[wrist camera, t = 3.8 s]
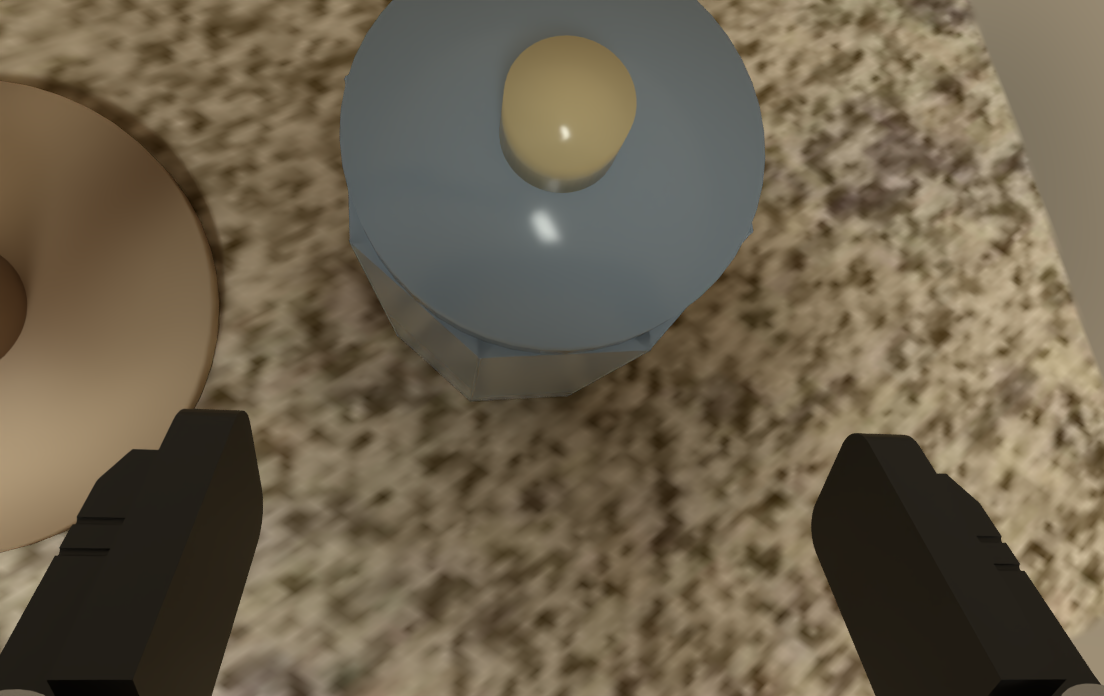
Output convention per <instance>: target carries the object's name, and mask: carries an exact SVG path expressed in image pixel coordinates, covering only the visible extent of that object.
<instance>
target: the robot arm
mask: <svg viewBox="0 0 1104 696" xmlns="http://www.w3.org/2000/svg"><path fill="white" fill-rule="evenodd" d="M262 514H263V494H262V487H261V482H260V476H259V470H258V465H257V459H256V453H255V447H254V442H253V436H252V430H251V425H250V420H249V417H248V415H247V413H246V412H245V411H239V410H209V409H181V410H180V411H179V412H178V413H177V414H176V416H175V417H174V419H173V421H172V423H171V425H170V427H169V429H168V431H167V433H166V436H165V438H164V440H163V442H162V444H161V446H160V448H159V450H148V449H132V450H131V451H130V452H128V453H127V454H126V455H125V456H124V457H123V458H122V459H120V460H119V461H118V462H117V463H116V464H115V465H114V466H112V467H111V468H110V469H109V470H108V471H107V472H106V473H104V474H103V475H102V476H101V477H100V478H99V479H98V480H97V481H96V483H95V484H94V486H93V488H92V490H91V492H90V493H89V495H88V497H87V499H86V501H85V502H84V504H83V506H82V508H81V510H80V512H79V513H78V515H77V522H76V524H72V526H71V528H70V530H69V531H68V533H67V535H66V537H65V539H64V540H63V542H62V544H61V546H60V552H59V555H58V556H55V557H54V558H53V560H52V562H51V564H50V566H49V567H48V569H47V571H46V573H45V575H44V577H43V578H42V580H41V582H40V584H39V586H38V587H37V589H36V591H35V593H34V595H33V596H32V598H31V600H30V602H29V604H28V605H27V607H26V609H25V611H24V613H23V614H22V616H21V618H20V620H19V622H18V623H17V625H16V627H15V629H14V631H13V633H12V634H11V636H10V638H9V640H8V642H7V643H6V645H5V647H4V649H3V651H2V652H1V654H0V696H212V693H213V689H214V686H215V683H216V679H217V676H218V673H219V669H220V666H221V663H222V659H223V656H224V653H225V649H226V646H227V643H228V639H229V636H230V633H231V629H232V626H233V623H234V620H235V616H236V613H237V610H238V606H239V603H240V600H241V596H242V593H243V590H244V586H245V583H246V580H247V576H248V573H249V570H250V566H251V563H252V560H253V556H254V553H255V550H256V546H257V543H258V539H259V535H260V530H261V524H262ZM811 531H812V539H813V544H814V548H815V551H816V554H817V556H818V559H819V561H820V563H821V566H822V568H823V571H824V573H825V575H826V578H827V580H828V583H829V585H830V587H831V590H832V592H833V595H834V597H835V599H836V602H837V604H838V607H839V609H840V611H841V614H842V616H843V619H844V621H845V624H846V626H847V628H848V631H849V633H850V636H851V638H852V640H853V643H854V645H855V648H856V650H857V652H858V655H859V657H860V660H861V662H862V664H863V667H864V669H865V672H866V674H867V676H868V679H869V681H870V684H871V686H872V689H873V691H874V693H875V696H1104V686H1103V685H1101V684H1100V682H1099V681H1098V680H1097V678H1096V677H1095V676H1094V674H1093V673H1092V671H1091V670H1090V668H1089V667H1088V666H1087V664H1086V662H1085V661H1084V659H1083V658H1082V656H1081V655H1080V653H1079V652H1078V651H1077V649H1076V647H1075V646H1074V645H1073V643H1072V641H1071V640H1070V638H1069V637H1068V635H1067V634H1066V632H1065V631H1064V629H1063V628H1062V626H1061V625H1060V623H1059V622H1058V620H1057V619H1056V617H1055V616H1054V614H1053V613H1052V611H1051V610H1050V608H1049V607H1048V605H1047V604H1046V602H1045V601H1044V599H1043V598H1042V596H1041V595H1040V593H1039V592H1038V590H1037V589H1036V587H1035V586H1034V584H1033V583H1032V581H1031V580H1030V578H1029V577H1028V575H1027V574H1026V572H1025V571H1021V570H1020V568H1019V565H1020V563H1019V562H1018V560H1017V559H1016V557H1015V556H1014V554H1013V553H1012V551H1011V550H1010V548H1009V547H1008V545H1007V544H1006V543H1002V542H1001V535H1000V533H999V532H998V530H997V529H996V527H995V526H994V524H993V523H992V521H991V520H990V518H989V517H988V515H987V514H986V512H985V511H984V509H983V508H982V506H981V505H980V503H979V502H978V501H976V500H975V499H974V498H973V497H972V496H971V495H970V494H969V493H967V492H966V491H965V490H964V489H963V488H962V487H961V486H959V485H958V484H957V483H956V482H955V481H954V480H953V479H951V478H950V477H949V476H948V475H947V474H937V473H936V472H935V470H934V469H933V467H932V465H931V464H930V462H929V461H928V459H927V457H926V456H925V454H924V453H923V451H922V450H921V448H920V446H919V445H918V444H917V442H916V441H915V440H914V439H913V438H911V437H910V436H907V435H891V434H862V433H854V434H851V435H849V436H848V437H847V438H846V439H845V441H844V442H843V444H842V446H841V449H840V451H839V453H838V455H837V457H836V460H835V462H834V464H833V466H832V468H831V471H830V473H829V475H828V477H827V479H826V482H825V484H824V486H823V488H822V490H821V493H820V495H819V497H818V499H817V501H816V504H815V506H814V509H813V513H812V522H811Z"/></svg>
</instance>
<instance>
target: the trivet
mask: <svg viewBox="0 0 1104 696" xmlns="http://www.w3.org/2000/svg"><path fill="white" fill-rule="evenodd" d="M0 255H1V256H2V257H3V258H5V259H6V260H7V261H8V262H9V263H10V264H11V265H12V266H13V267H14V269H15V270H16V271H17V273H18V274H19V276H20V278H21V280H22V282H23V285H24V288H25V292H26V297H27V314H26V319H25V323H24V326H23V329H22V331H21V334H20V336H19V337H18V339H17V341H16V342H15V344H14V345H13V347H12V348H11V349H10V350H9V351H8V352H7V353H6V355H5V356H4V357H2V358H1V359H0V553H1V552H5V551H8V550H12V549H16V548H20V547H24V546H28V545H32V544H34V543H37V542H39V541H42V540H44V539H47V538H50V537H52V536H55V535H57V534H60V533H62V532H65V531H67V530H69V529H70V528H71V526H72V524H76V522H77V515H78V513H79V512H80V510H81V508H82V506H83V504H84V502H85V501H86V499H87V497H88V495H89V493H90V492H91V490H92V488H93V486H94V484H95V483H96V481H97V480H98V479H99V478H100V477H101V476H102V475H103V474H104V473H106V472H107V471H108V470H109V469H110V468H111V467H112V466H114V465H115V464H116V463H117V462H118V461H119V460H120V459H122V458H123V457H124V456H125V455H126V454H127V453H128V452H130V451H131V450H132V449H148V450H159V448H160V446H161V444H162V442H163V440H164V438H165V436H166V433H167V431H168V429H169V427H170V425H171V423H172V421H173V419H174V417H175V416H176V414H177V413H178V412H179V411H180V410H181V409H194V408H195V406H196V404H197V402H198V400H199V398H200V396H201V394H202V391H203V388H204V385H205V383H206V380H207V377H208V374H209V371H210V368H211V365H212V361H213V356H214V351H215V346H216V341H217V336H218V321H219V294H218V281H217V274H216V270H215V265H214V261H213V256H212V251H211V248H210V245H209V243H208V240H207V237H206V235H205V232H204V229H203V227H202V224H201V222H200V220H199V218H198V216H197V214H196V213H195V211H194V209H193V207H192V205H191V203H190V202H189V200H188V198H187V196H186V195H185V194H184V192H183V191H182V190H181V188H180V187H179V186H178V184H177V183H176V182H175V180H174V179H173V178H172V176H171V175H170V174H169V173H168V172H167V171H166V170H165V169H164V168H163V167H162V166H161V165H160V163H159V162H158V161H157V160H156V159H155V158H154V157H153V156H152V155H151V154H150V153H149V152H148V151H147V150H146V149H145V148H144V147H143V146H142V145H141V144H140V143H139V142H137V141H136V140H135V139H134V138H132V137H131V136H130V135H128V134H127V133H126V132H125V131H123V130H122V129H121V128H120V127H118V126H117V125H116V124H114V123H113V122H111V121H110V120H108V119H106V118H105V117H103V116H101V115H100V114H98V113H96V112H94V111H93V110H91V109H89V108H88V107H86V106H83V105H81V104H79V103H76V102H74V101H72V100H70V99H67V98H65V97H63V96H60V95H58V94H55V93H51V92H48V91H45V90H41V89H38V88H35V87H31V86H28V85H22V84H17V83H11V82H5V81H0Z"/></svg>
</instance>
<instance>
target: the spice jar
mask: <svg viewBox="0 0 1104 696" xmlns="http://www.w3.org/2000/svg"><path fill="white" fill-rule="evenodd" d="M26 314H27V297H26V292H25V288H24V285H23V282H22V280H21V278H20V276H19V274H18V273H17V271H16V270H15V269H14V267H13V266H12V265H11V264H10V263H9V262H8V261H7V260H6V259H5V258H3V257H2V256H1V255H0V359H1V358H2V357H4V356H5V355H6V353H7V352H8V351H9V350H10V349H11V348H12V347H13V345H14V344H15V342H16V341H17V339H18V337H19V336H20V334H21V331H22V329H23V326H24V323H25V319H26Z"/></svg>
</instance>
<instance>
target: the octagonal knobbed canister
mask: <svg viewBox="0 0 1104 696" xmlns="http://www.w3.org/2000/svg"><path fill="white" fill-rule="evenodd" d="M344 80H345V90H344V96H343V101H342V106H341V117H340V146H341V157H342V166H343V170H344V174H345V178H346V182H347V187H348V192H349V228H350V240H349V242H350V245H351V246H352V248H353V250H354V252H355V254H356V256H357V258H358V260H359V262H360V264H361V266H362V268H363V270H364V272H365V274H366V276H367V278H368V280H369V282H370V284H371V286H372V288H373V290H374V292H375V293H376V295H377V297H378V299H379V301H380V303H381V305H382V307H383V309H384V311H385V313H386V315H387V317H388V319H389V321H390V323H391V325H392V327H393V329H394V331H395V333H396V335H397V336H398V337H400V338H401V339H402V340H403V341H404V342H405V343H406V344H407V345H408V346H410V347H411V348H412V349H413V350H414V351H415V352H416V353H417V354H418V355H420V356H421V357H422V358H423V359H424V360H425V361H426V362H427V363H428V364H430V365H431V366H432V367H433V368H434V369H435V370H436V371H437V372H439V373H440V374H441V375H442V376H443V377H444V378H445V379H446V380H447V381H449V382H450V383H451V384H452V385H453V386H454V387H455V388H456V389H457V390H459V391H460V392H461V393H462V394H463V395H464V396H465V397H466V398H467V399H469V400H470V401H483V400H502V399H520V398H539V397H558V396H569V395H571V394H573V393H575V392H577V391H578V390H580V389H582V388H584V387H586V386H587V385H589V384H591V383H593V382H595V381H596V380H598V379H600V378H602V377H604V376H605V375H607V374H609V373H611V372H613V371H614V370H616V369H618V368H620V367H622V366H623V365H625V364H627V363H629V362H631V361H633V360H634V359H636V358H638V357H640V356H642V355H643V354H645V353H647V352H649V351H651V348H652V347H653V346H654V345H655V344H656V342H657V341H658V340H659V339H660V338H661V337H662V335H663V334H664V333H665V332H666V331H667V330H668V328H669V327H670V326H671V325H672V324H673V323H674V322H675V320H676V319H677V318H678V317H679V316H680V315H681V313H682V312H683V311H684V310H685V309H686V308H687V307H688V306H689V305H690V304H692V303H693V302H694V301H695V300H697V299H698V298H699V297H701V296H702V295H703V294H704V293H705V292H706V291H707V290H708V289H709V288H710V287H711V286H712V285H713V284H714V283H715V282H716V281H717V279H718V278H719V277H720V276H721V275H722V273H723V272H724V271H725V269H726V268H727V267H728V265H729V264H730V263H731V261H732V260H733V259H734V257H735V256H736V254H737V252H738V250H739V248H740V247H741V245H742V243H743V242H744V241H745V240H746V238H747V237H748V236H749V235H750V234H752V233H753V227H752V221H753V218H754V216H755V213H756V210H757V206H758V202H759V198H760V194H761V189H762V185H763V175H764V165H765V144H764V129H763V124H762V118H761V112H760V107H759V103H758V100H757V97H756V93H755V90H754V87H753V84H752V81H751V79H750V77H749V74H748V72H747V70H746V68H745V65H744V63H743V61H742V59H741V57H740V55H739V54H738V52H737V50H736V49H735V47H734V45H733V44H732V42H731V40H730V39H729V37H728V36H727V34H726V33H725V32H724V30H723V29H722V28H721V27H720V25H719V24H718V23H717V22H716V20H715V19H714V18H713V16H712V15H711V14H710V13H709V12H708V11H707V10H706V9H705V8H704V7H703V6H702V5H701V4H700V3H699V2H698V1H697V0H393V1H392V2H391V3H390V4H389V5H388V6H387V7H386V8H385V9H384V10H383V11H382V13H381V14H380V15H379V17H378V18H377V20H376V21H375V23H374V24H373V25H372V27H371V28H370V30H369V31H368V33H367V34H366V36H365V38H364V40H363V42H362V44H361V46H360V48H359V50H358V52H357V54H356V56H355V58H354V61H353V64H352V66H351V69H350V72H349V74H348V75H347V76H345V78H344Z"/></svg>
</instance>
